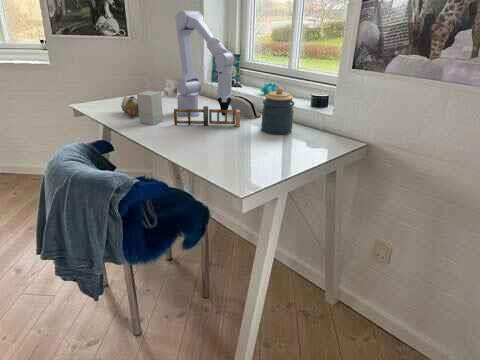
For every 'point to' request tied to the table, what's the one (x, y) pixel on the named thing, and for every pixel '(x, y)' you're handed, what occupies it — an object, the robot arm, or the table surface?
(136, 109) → the ceramic sculpture
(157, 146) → the table surface
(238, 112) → the post
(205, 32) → the robot arm
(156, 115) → the supplement box
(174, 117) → the fence
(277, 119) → the canister
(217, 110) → the gate
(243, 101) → the grey arched piece
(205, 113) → the hinge post
